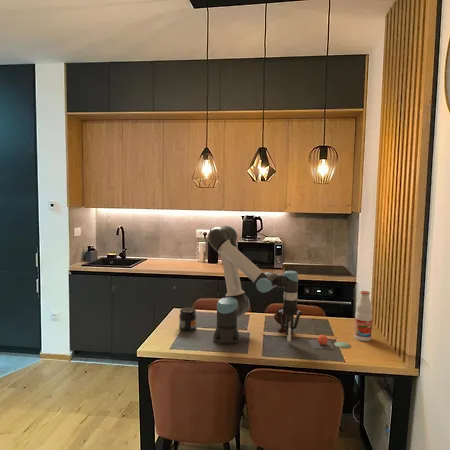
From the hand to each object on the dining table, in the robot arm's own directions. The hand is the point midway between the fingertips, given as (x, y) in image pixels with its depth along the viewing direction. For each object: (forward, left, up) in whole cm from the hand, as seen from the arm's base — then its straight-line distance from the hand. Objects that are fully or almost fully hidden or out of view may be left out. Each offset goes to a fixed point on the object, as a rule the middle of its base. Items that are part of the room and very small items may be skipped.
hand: (288, 340), depth 211 cm
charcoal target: (+18, 0, -2) cm, 18 cm away
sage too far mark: (+30, 0, -2) cm, 30 cm away
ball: (+19, 0, +1) cm, 19 cm away
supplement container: (-59, +19, -2) cm, 62 cm away
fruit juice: (+45, +11, -2) cm, 46 cm away
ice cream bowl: (-1, +20, -2) cm, 20 cm away
